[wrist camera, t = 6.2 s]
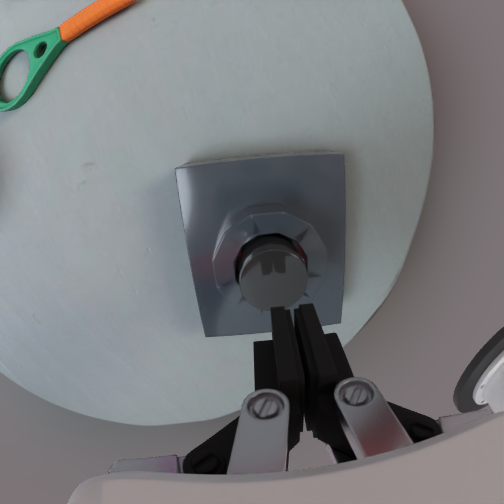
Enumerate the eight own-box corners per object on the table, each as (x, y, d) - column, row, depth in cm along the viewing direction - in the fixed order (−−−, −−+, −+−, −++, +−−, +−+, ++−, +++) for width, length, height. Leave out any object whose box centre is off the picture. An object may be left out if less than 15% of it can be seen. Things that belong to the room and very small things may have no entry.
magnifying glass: (1, 125, 17) (-11, 126, 15) (-9, 73, 15) (-20, 72, 13) (145, 25, 15) (137, 18, 14) (127, -26, 13) (120, -35, 11)
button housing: (330, 150, 19) (356, 156, 15) (331, 302, 24) (348, 339, 19) (184, 163, 19) (166, 172, 15) (209, 314, 24) (202, 355, 19)
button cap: (300, 233, 17) (307, 246, 15) (302, 289, 18) (308, 307, 16) (236, 239, 17) (235, 253, 15) (242, 295, 18) (242, 314, 16)
